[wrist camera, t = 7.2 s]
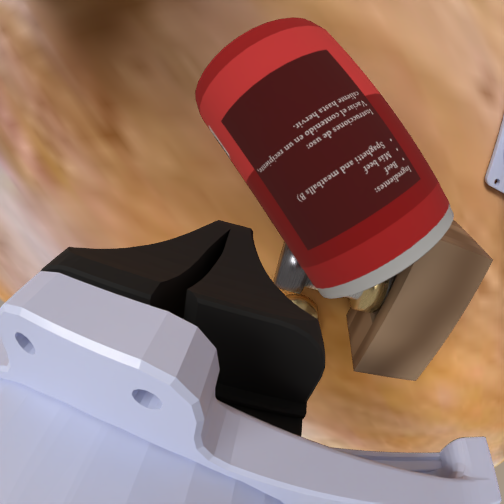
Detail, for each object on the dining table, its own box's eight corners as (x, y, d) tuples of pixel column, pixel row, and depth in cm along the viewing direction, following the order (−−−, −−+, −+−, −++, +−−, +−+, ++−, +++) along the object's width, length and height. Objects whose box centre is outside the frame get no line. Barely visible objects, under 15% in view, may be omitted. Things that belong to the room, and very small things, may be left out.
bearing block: (346, 315, 24) (353, 370, 19) (396, 198, 20) (426, 235, 14) (399, 327, 24) (415, 380, 19) (454, 220, 20) (492, 259, 14)
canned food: (270, 99, 19) (366, 239, 20) (167, 127, 15) (290, 313, 15) (345, 20, 13) (467, 192, 13) (236, 6, 9) (428, 275, 9)
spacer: (323, 298, 24) (324, 307, 23) (309, 332, 26) (309, 341, 25) (278, 287, 24) (277, 296, 23) (267, 322, 26) (266, 332, 25)
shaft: (275, 269, 22) (270, 300, 19) (289, 221, 20) (287, 247, 17) (432, 310, 22) (446, 341, 18) (453, 271, 20) (472, 299, 17)
